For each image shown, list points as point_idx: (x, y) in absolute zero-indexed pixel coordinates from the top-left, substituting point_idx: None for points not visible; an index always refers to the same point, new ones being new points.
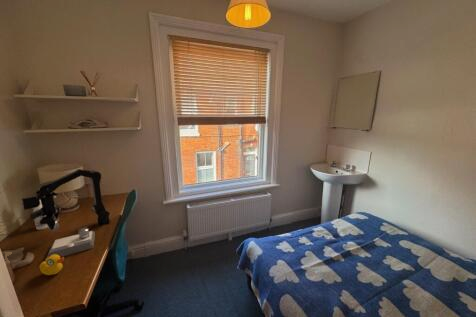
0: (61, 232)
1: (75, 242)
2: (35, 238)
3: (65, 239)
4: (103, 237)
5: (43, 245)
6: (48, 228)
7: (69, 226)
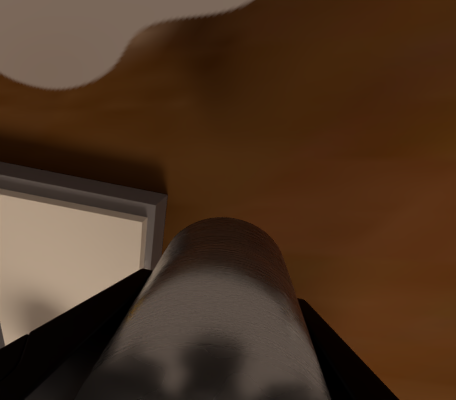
0: (345, 240)
1: (19, 317)
2: (421, 59)
3: (103, 277)
4: None
5: (211, 127)
6: (178, 248)
7: (407, 289)
